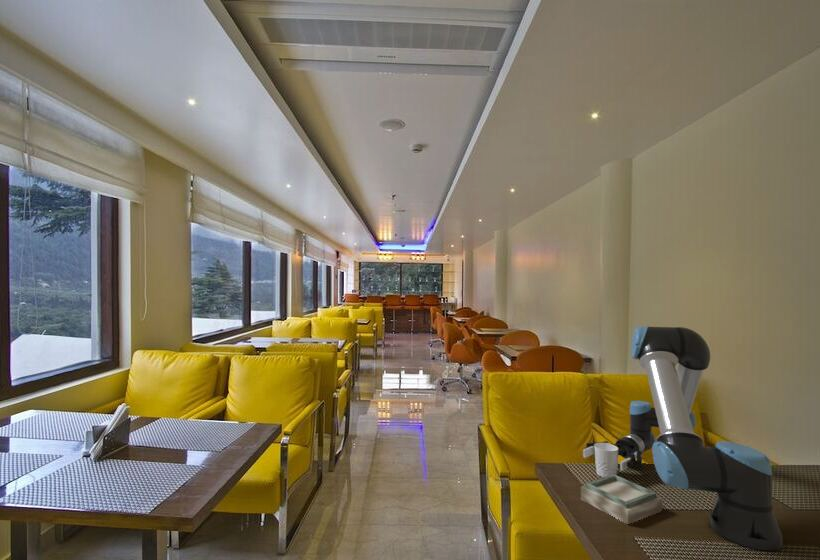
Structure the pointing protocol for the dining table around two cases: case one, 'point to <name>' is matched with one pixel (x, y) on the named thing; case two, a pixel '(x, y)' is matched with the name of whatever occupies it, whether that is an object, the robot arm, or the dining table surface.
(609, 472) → the white cup
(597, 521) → the dining table surface
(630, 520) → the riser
